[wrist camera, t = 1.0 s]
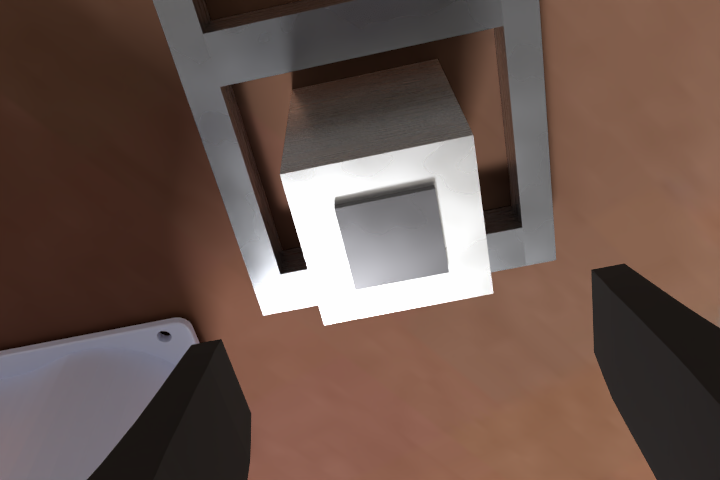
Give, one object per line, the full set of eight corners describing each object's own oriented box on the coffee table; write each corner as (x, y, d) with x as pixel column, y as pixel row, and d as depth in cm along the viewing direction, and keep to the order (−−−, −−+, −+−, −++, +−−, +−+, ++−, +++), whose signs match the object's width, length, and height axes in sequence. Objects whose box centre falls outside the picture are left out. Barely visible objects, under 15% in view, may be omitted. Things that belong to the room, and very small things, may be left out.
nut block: (325, 214, 23) (324, 329, 18) (292, 89, 21) (279, 178, 16) (456, 188, 23) (495, 297, 18) (437, 58, 21) (474, 138, 15)
